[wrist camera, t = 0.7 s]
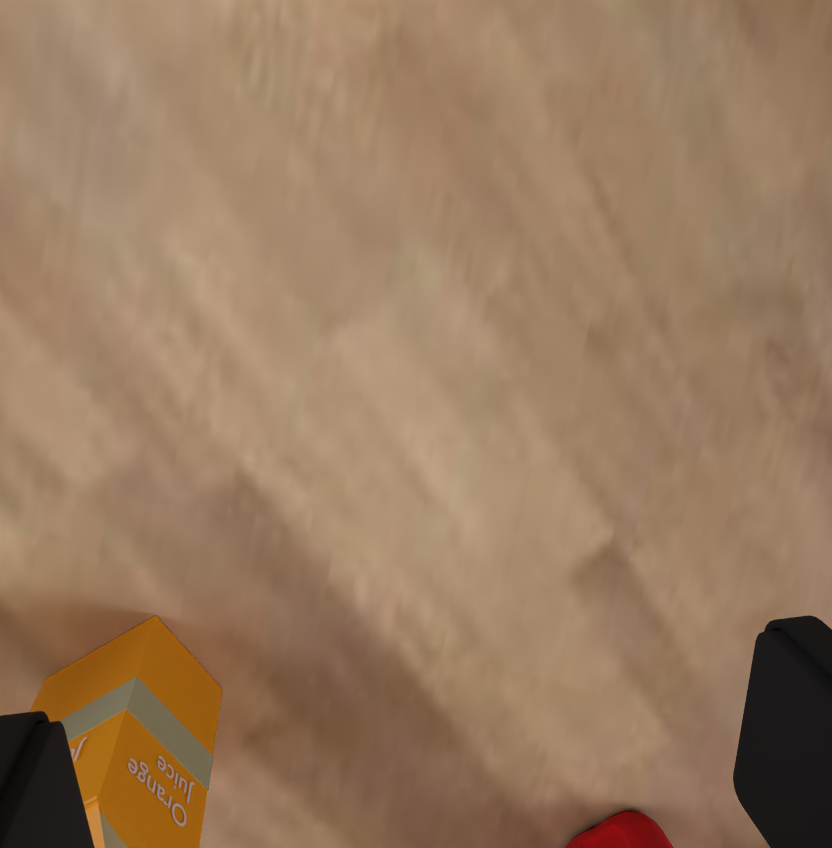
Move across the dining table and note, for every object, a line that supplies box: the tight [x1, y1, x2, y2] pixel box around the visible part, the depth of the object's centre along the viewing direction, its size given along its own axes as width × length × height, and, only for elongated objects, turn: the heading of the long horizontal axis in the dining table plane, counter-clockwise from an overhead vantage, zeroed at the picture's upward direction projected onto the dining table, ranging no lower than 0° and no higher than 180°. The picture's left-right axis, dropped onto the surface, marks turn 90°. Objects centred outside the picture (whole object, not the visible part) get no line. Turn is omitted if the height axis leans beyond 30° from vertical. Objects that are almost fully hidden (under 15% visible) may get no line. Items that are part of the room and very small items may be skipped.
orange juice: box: [30, 615, 222, 848], centre depth 40 cm, size 8×9×20 cm
